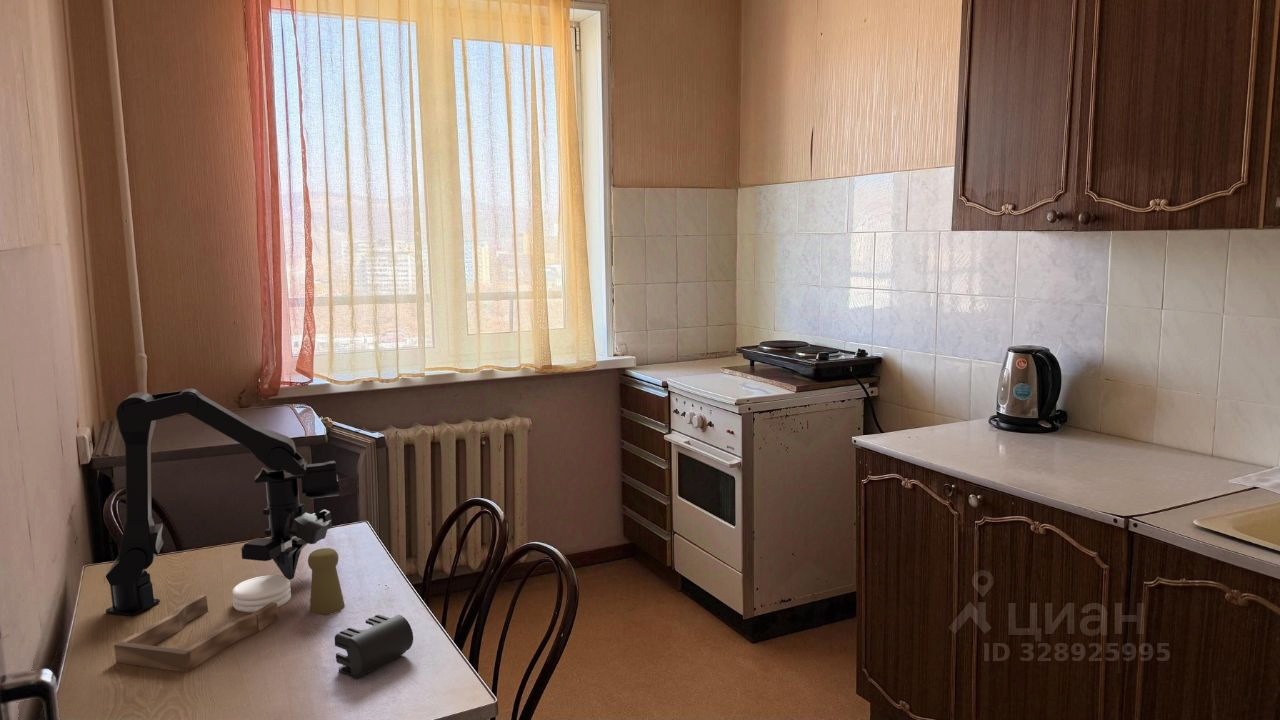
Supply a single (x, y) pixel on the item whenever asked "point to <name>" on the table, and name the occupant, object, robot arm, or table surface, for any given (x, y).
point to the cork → (325, 582)
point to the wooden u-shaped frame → (146, 654)
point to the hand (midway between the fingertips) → (290, 579)
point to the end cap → (373, 644)
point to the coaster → (261, 593)
